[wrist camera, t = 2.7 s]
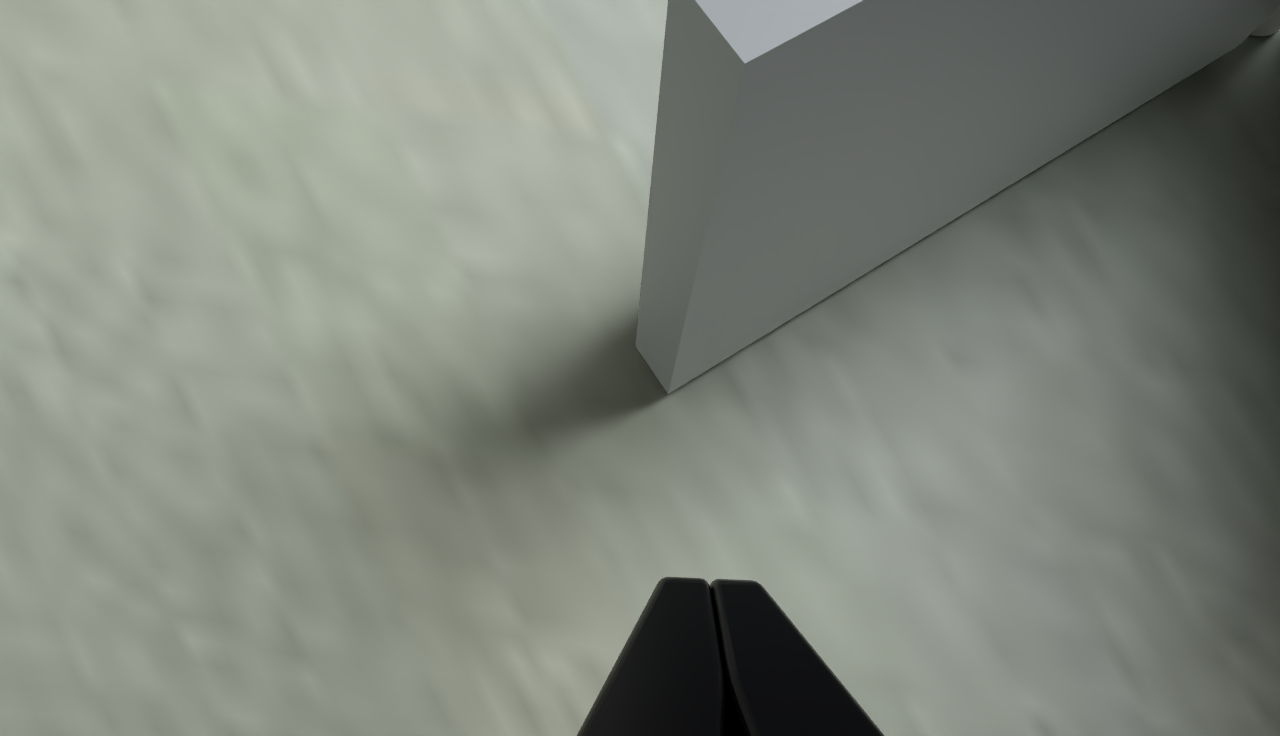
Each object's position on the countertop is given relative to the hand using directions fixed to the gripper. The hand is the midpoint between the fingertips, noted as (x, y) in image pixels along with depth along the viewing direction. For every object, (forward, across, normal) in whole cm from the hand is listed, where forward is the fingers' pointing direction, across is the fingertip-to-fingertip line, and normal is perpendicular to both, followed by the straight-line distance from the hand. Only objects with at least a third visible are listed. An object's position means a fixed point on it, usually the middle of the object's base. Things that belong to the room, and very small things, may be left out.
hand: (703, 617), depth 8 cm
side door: (+10, -5, -1) cm, 12 cm away
